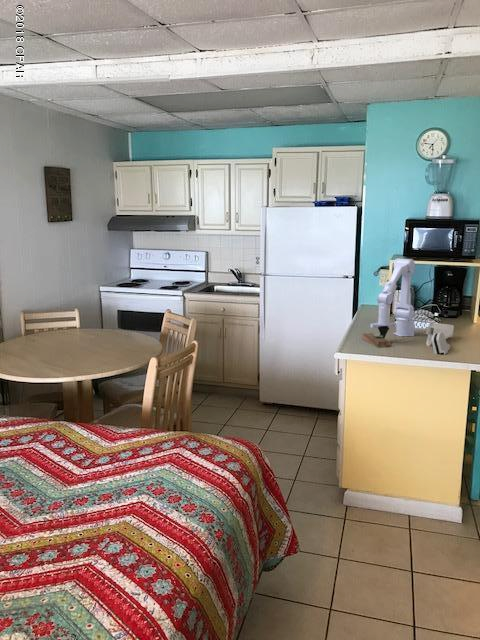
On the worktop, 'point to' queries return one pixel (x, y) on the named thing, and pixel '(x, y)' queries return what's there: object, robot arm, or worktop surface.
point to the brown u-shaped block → (376, 340)
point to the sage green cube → (377, 336)
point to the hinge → (440, 343)
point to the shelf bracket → (438, 331)
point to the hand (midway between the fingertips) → (382, 339)
